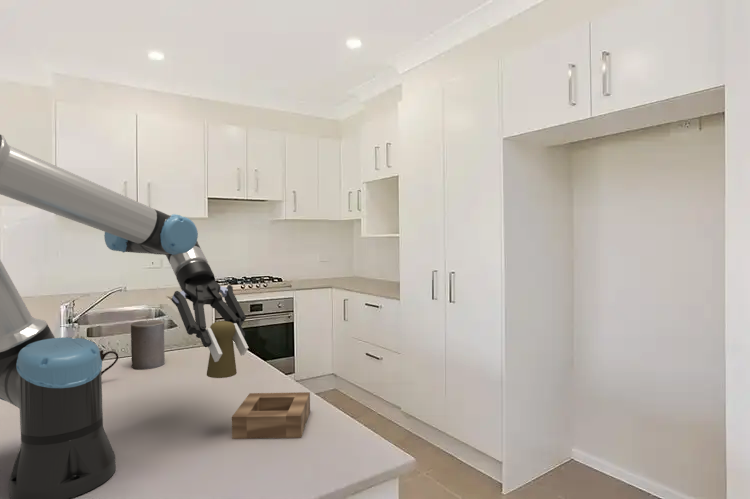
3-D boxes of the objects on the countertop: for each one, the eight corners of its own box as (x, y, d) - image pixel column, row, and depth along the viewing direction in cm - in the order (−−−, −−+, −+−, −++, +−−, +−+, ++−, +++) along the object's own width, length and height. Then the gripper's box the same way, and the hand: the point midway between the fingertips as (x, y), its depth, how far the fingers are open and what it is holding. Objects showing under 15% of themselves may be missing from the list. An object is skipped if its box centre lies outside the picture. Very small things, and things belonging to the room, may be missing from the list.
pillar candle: (124, 368, 146) (123, 321, 146) (146, 360, 156) (145, 315, 155) (151, 370, 144) (149, 322, 143) (171, 362, 154) (170, 316, 153)
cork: (225, 368, 103) (226, 318, 103) (242, 373, 99) (243, 321, 99) (200, 374, 98) (201, 321, 98) (217, 380, 94) (218, 325, 94)
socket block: (301, 437, 95) (300, 415, 95) (232, 438, 95) (231, 416, 95) (310, 411, 109) (309, 392, 109) (250, 412, 109) (249, 393, 109)
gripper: (223, 277, 115) (263, 355, 105) (146, 285, 102) (183, 375, 92) (234, 256, 111) (276, 335, 101) (155, 262, 98) (194, 353, 88)
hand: (231, 354), depth 96 cm, fingers closed on cork, 5 cm apart
